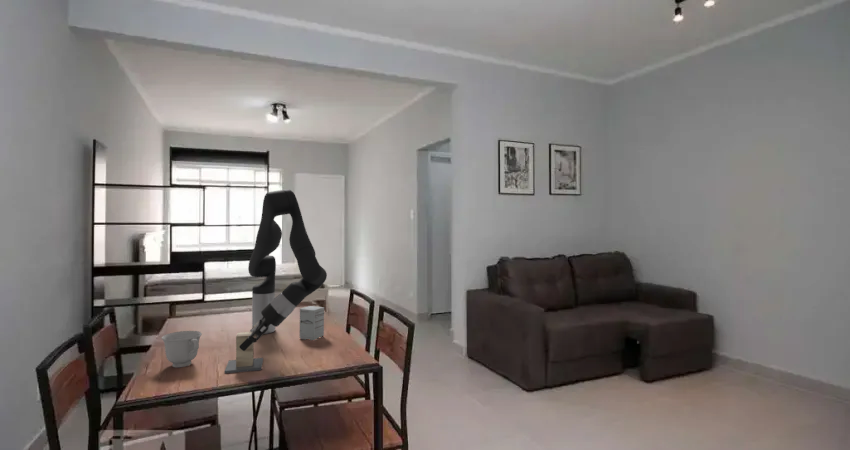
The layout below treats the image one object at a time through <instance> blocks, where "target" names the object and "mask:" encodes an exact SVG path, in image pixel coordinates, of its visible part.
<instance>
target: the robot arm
mask: <svg viewBox="0 0 850 450" xmlns="http://www.w3.org/2000/svg"><path fill="white" fill-rule="evenodd" d="M262 201H263V202H262V208H261V209H262V211H261V218H260V219H261V220H260V221H259V222H260V223H259V227H258V229H257V234H256V238H255V243H254V248H253V250H252V253H251V256H250V257H249V258H250V259H249V262H248V275H250V277H252V278H265V279H264V280H263V281H261V282H260V283H258V284H255V285H254V286H252V289H251V292H252V293H251V295H252V297H251V298H252V300H251V301H252V306H251V307H252V310H251V311H252V313H251V314H252V315H251V319H252V320H251V324H252V325H251V329H250V330H249V332H251V335H250V336H248V338H247V339H246V340H245V341H244V342H243V343H242V344H241V345H240V349H242V350H243V351H245V350H246V349H247V348H248V347H249V346H250V345H251V344H252V343H254V344H255V343H257V341H258V340H259V339H261V337H262V336H263V335H266V334H271V333H274V332H275V330H276V327H279V325H281V324H282V323H283V322H284V321H285V320H286V318H287V317H289V316H290V315H291V314H292V313H293V311H294V310H295V309H296V308H297V306H299V305H300V304H301V303H302V301H304V299H306V298H307V297H308V296H310V295H311V294H312V293H314V292H315V291H317V290H318V289H319V288H321V286H323V285H324V283H325V282H326V280H327V275H328V273H327V270H326V269H324V268H323V267H322V266H321V265H320V263H319V262H318V259H317V257H316V250H315V248H314V245H313V244H312V242H311V239H310V237H309V234H308V233H307V229H306V226H305V223H304V220H303V216H302V212H301V211H302V210H301V208H300V205H299V202H298V200H297V197H296V195H295V193H294V192H293V191H292V190H291V189H279V190H271V191H269V192H266V193H265V195H264V197H263V200H262ZM285 215H290V216H291V220H292V224H291V230H290V233H289V238H288V240H289V246H290V248H291V251H292V253H293V255H294V258H295V259H296V261H297V266H298V269H299V270H298V271H299V273H300V275H301V277H302V278H301V279H300V280H298V281H294V282H291V283H289V284H288V285H287V287H285V289H284V290H282V291H281V293H279V294H278V295H276V291H275V290H276V289H275V287H276V271H277V267H276V266H277V263H276V258H275V256H274V255H271V254H272V253H273V252H275V251H276V250H277V249H278V247H279V245H280V243H281V240H282V236H283V232H282V229H281V227H280V225H279V224H278V223H277V222H276V221H275V218H276V217H278V216H279V217H280V216H285ZM275 295H276V296H275ZM253 335H254V337H253Z"/></svg>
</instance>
